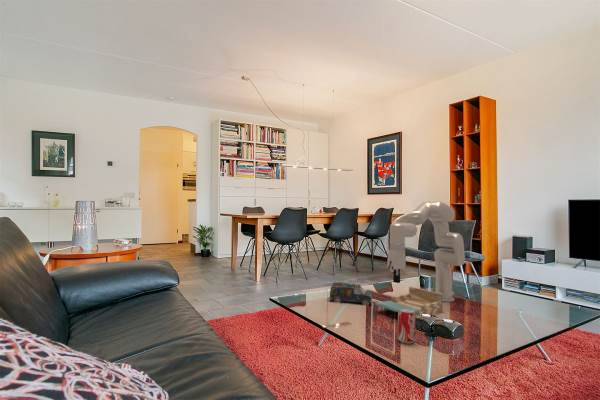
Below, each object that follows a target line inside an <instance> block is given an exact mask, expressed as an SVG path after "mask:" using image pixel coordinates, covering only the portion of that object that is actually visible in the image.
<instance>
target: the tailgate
mask: <svg viewBox="0 0 600 400" xmlns="http://www.w3.org/2000/svg"><path fill="white" fill-rule="evenodd" d="M375 306H378V307H382V308H385V309H386V310H389V311H392V312H395V313H398V312H399V311H400V310H399V309H400V308H409V309H413V310H414V311H415V313H418V312H420V310H419V309H416V308H412V307H409V306H405V305H402V304H399V303H395V302H392V301H391V300H386V301H376V302H375Z"/></svg>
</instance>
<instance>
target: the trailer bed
mask: <svg viewBox="0 0 600 400" xmlns="http://www.w3.org/2000/svg"><path fill="white" fill-rule="evenodd" d="M408 290H409V291H408V293H405V294H402V295H396V296H392V297H390V301H392V302H395V303H399V304H402V305H405V306H409V307H412V308H416V309H419V310H420V312H418V313H415V315H416V314H430V315H432V316H434V315H437V314H441V313H443V301H442V298H443V294H441V293H437V292H435V291H433V290H428V289H424V288H419V287H414V286H409V287H408Z"/></svg>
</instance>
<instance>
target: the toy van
mask: <svg viewBox="0 0 600 400" xmlns="http://www.w3.org/2000/svg"><path fill="white" fill-rule="evenodd" d="M372 295H373V293H372V291H371V290H366V289H365V288H363V286H362V285H360V284H356V283H348V282H333V283H332V285H331V286H330V289H329V298H328V299H329V300H330V301H331V300H332V301H333V300H334V303H337V302H339V303H340V304H341V303H342V302H351V303H362V305H363V306H369V305H370V304H372V301H373V298H372ZM339 303H338V304H339Z"/></svg>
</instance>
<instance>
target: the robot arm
mask: <svg viewBox="0 0 600 400" xmlns="http://www.w3.org/2000/svg"><path fill="white" fill-rule="evenodd" d="M455 215H456V214H455V210H454V209H453V207H451V206H450V205H449V204H446V203H445V202H442V201H429V200H428V201H424V202H422V203H420V204H419V205H418V206H417V207H416V208H415V209H414V210H413V211H412V212H409V213H406V214H403V215H400V216H399V217H397V218H396V219H395V220H394V221H392V223H391V224H390V225H389V250H388V252H387V253H388V254H387V261H386V263H387V264H386V268H387V269H389V272H390V273H391V274H392V276H393V278H392V281H393V283H394V284H395V283H396V284H401V275H402V272H403V271H404V270H405V268H406V265H407V263H406V262H407V261H406V260H407V259H406V248H405V246H406V245H405V242H406V240H405V239H406V238H413V237H415V236H416V235H417V232H418V228H417V226H419V225H423V224H424V223H425V222H426V221H427V220H429V221H430V222H431V224H432V226H433V231H434V240H435V244H436V246H438V247H440V248H438V249H436V250H435V251H434V254H433V256H434V263H435V288H434V289H435V291H434V292H437V293H441V294H443V298H442V302H448V303H449V302H450V303H451V302H455V297H453V296H454V295H455V292H454V291H453V270H452V267H450V266H456V267H461V266H464V264H465V260H466V258H465V257H466V256H465V244H464V238H463V236H462V235H461V234H460V233H458V232H451V231H450V226H449V223H450V222H452V221H453V220H454V219H455V217H456V216H455Z"/></svg>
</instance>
